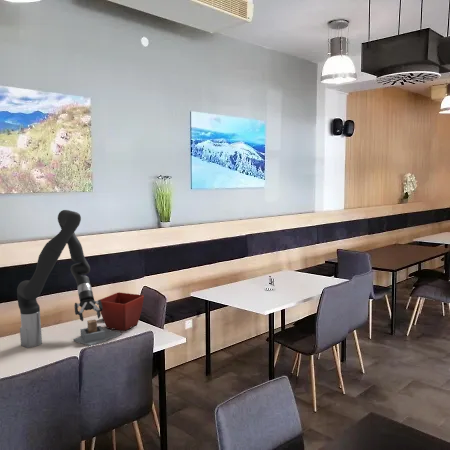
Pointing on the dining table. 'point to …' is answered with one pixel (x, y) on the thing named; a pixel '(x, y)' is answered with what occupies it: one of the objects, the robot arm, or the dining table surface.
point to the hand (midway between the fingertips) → (90, 319)
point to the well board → (107, 335)
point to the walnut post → (92, 326)
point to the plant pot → (121, 310)
